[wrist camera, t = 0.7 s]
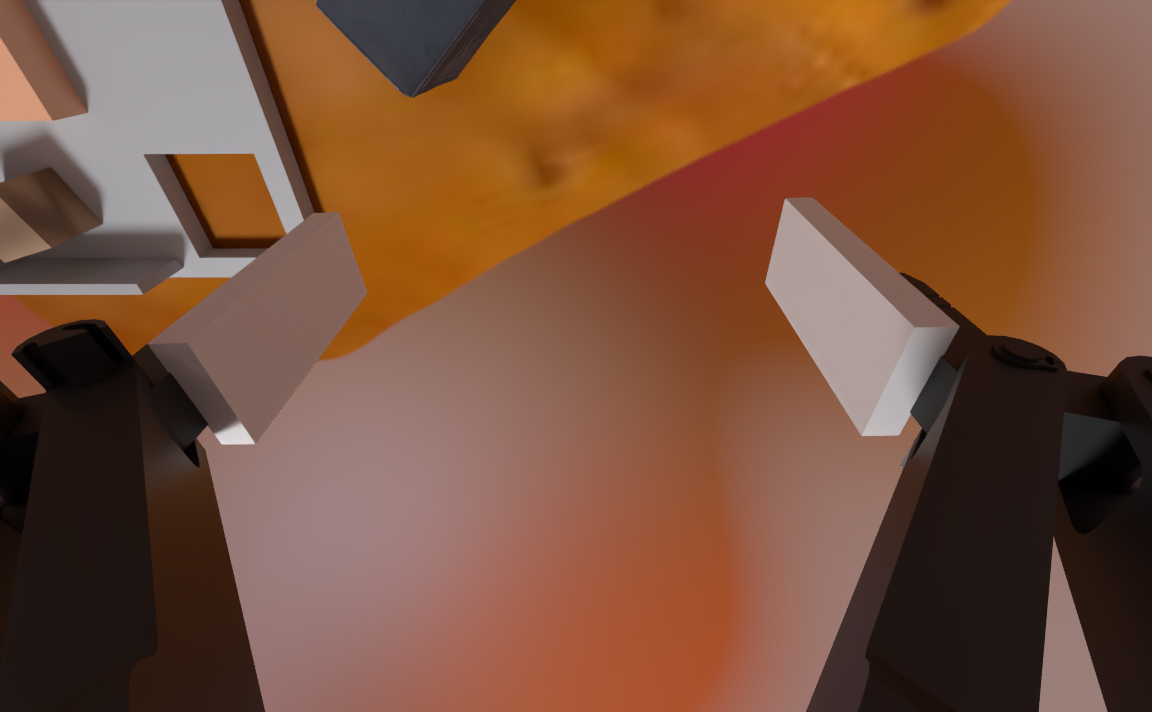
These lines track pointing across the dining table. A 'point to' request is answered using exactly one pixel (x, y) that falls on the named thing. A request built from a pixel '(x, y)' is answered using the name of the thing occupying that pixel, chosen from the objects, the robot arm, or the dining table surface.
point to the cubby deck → (147, 141)
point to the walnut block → (40, 214)
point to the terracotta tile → (31, 71)
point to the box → (416, 36)
